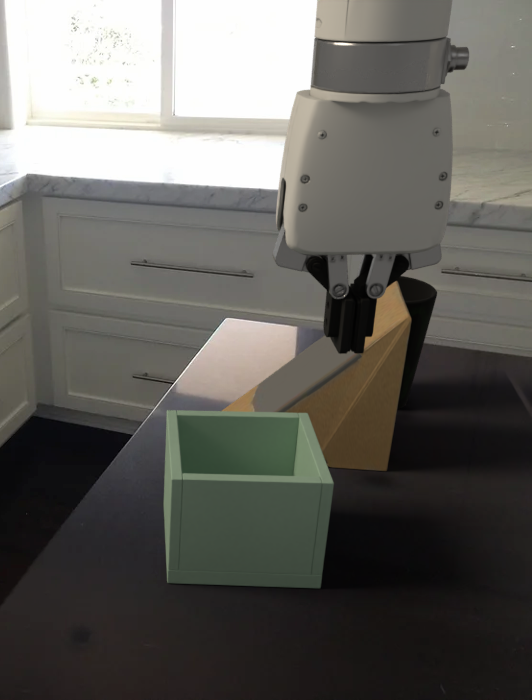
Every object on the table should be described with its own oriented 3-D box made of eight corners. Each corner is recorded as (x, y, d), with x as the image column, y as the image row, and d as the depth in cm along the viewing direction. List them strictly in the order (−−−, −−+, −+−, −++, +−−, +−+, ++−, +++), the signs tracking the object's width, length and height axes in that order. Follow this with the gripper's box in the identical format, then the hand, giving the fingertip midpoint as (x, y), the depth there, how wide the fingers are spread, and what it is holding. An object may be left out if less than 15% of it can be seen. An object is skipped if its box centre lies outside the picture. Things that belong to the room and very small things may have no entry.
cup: (425, 417, 85) (445, 303, 80) (345, 412, 86) (360, 300, 81) (409, 382, 92) (427, 275, 87) (335, 378, 93) (348, 273, 88)
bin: (308, 412, 68) (166, 409, 69) (334, 483, 59) (171, 478, 60) (297, 508, 71) (163, 504, 72) (320, 588, 62) (167, 583, 63)
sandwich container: (215, 412, 87) (224, 270, 80) (376, 425, 84) (398, 279, 78) (211, 456, 79) (220, 303, 73) (387, 472, 76) (412, 314, 70)
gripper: (479, 58, 55) (438, 323, 63) (243, 66, 56) (230, 325, 64) (530, 73, 48) (477, 368, 56) (259, 81, 49) (243, 370, 57)
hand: (346, 345), depth 60 cm, fingers closed
